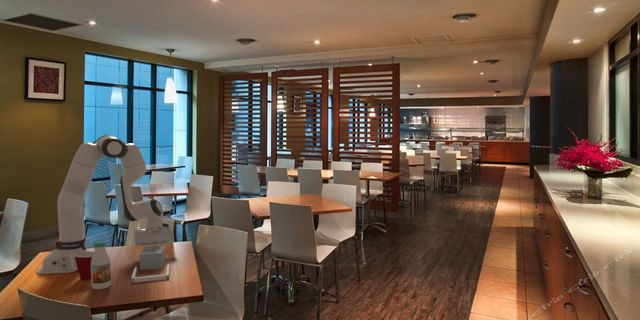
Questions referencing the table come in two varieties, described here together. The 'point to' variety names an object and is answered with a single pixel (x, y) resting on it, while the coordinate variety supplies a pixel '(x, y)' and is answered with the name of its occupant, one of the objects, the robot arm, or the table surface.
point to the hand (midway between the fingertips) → (154, 250)
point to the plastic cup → (84, 264)
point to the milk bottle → (100, 267)
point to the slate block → (152, 257)
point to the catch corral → (149, 278)
